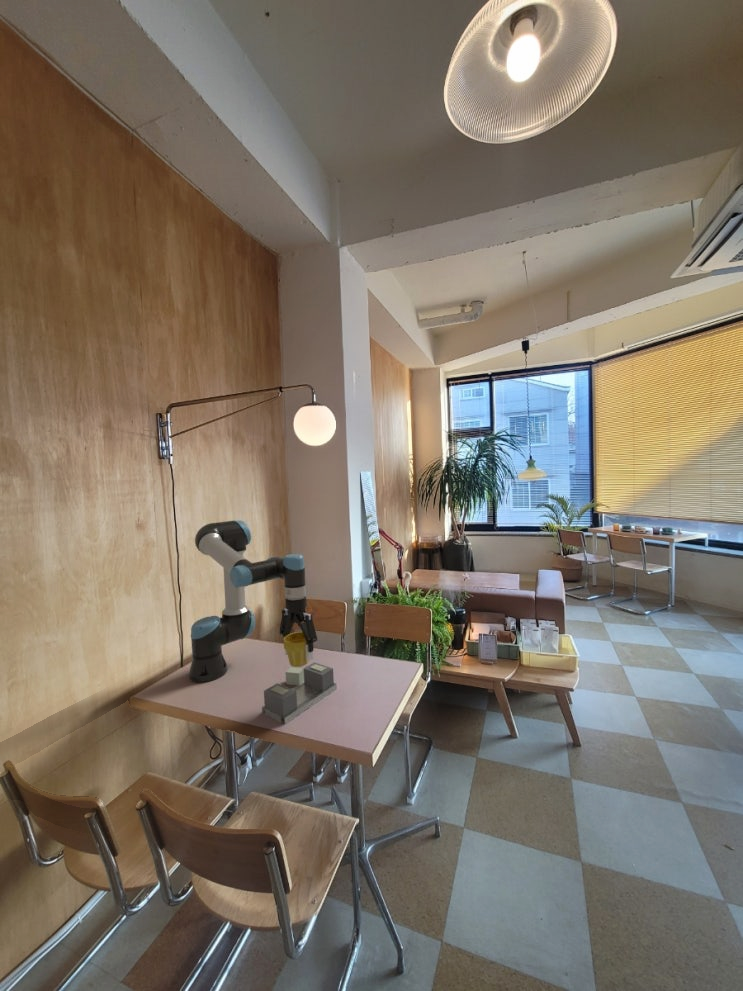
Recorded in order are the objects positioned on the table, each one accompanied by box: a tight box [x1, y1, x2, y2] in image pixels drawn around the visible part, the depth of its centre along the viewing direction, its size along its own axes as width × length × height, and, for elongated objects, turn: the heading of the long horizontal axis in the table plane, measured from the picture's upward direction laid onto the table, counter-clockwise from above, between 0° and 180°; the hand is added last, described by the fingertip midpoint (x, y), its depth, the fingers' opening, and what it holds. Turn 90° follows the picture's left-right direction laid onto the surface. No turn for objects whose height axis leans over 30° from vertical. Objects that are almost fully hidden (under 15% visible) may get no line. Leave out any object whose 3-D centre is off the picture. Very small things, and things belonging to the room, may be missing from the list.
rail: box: [261, 681, 338, 725], centre depth 144 cm, size 12×26×2 cm, turn 144°
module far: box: [303, 662, 335, 690], centre depth 152 cm, size 10×6×6 cm, turn 54°
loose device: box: [285, 666, 304, 686], centre depth 158 cm, size 6×4×5 cm, turn 74°
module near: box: [263, 683, 297, 716], centre depth 136 cm, size 10×6×6 cm, turn 54°
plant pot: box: [282, 631, 310, 668], centre depth 143 cm, size 10×10×10 cm
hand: (299, 656), depth 144 cm, fingers closed on plant pot, 10 cm apart
